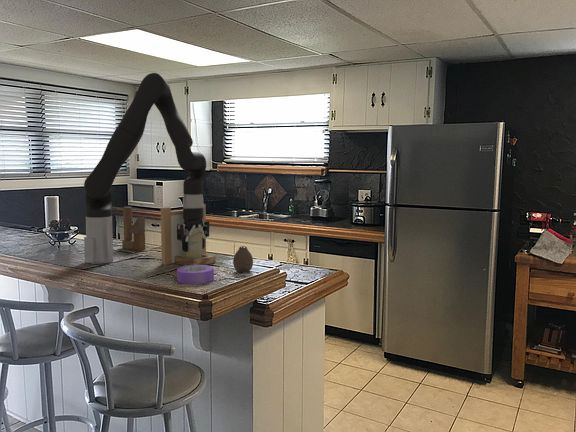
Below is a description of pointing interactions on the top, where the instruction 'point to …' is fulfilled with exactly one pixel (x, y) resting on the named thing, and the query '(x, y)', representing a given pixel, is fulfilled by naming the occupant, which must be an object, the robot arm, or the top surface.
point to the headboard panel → (173, 234)
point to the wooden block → (133, 231)
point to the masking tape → (195, 274)
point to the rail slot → (195, 260)
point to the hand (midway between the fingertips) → (193, 249)
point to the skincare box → (194, 244)
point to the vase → (243, 260)
